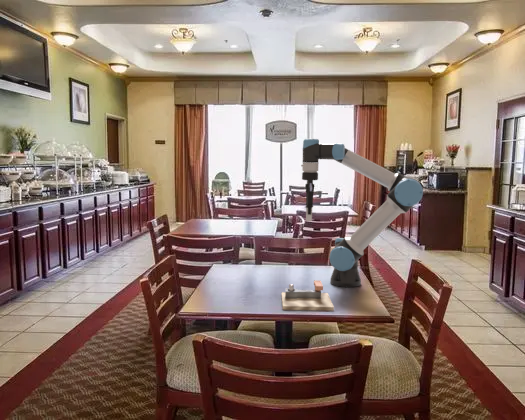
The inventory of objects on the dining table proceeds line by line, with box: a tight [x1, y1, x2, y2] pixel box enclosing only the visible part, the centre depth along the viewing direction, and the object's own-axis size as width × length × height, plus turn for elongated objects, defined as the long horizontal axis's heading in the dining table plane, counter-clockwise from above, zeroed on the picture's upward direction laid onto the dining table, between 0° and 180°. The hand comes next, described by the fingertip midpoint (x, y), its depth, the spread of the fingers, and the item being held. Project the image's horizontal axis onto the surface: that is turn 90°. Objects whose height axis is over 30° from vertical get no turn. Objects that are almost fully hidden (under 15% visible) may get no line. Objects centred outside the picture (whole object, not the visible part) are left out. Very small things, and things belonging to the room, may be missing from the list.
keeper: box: [313, 280, 324, 291], centre depth 205 cm, size 3×10×6 cm, turn 179°
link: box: [284, 287, 322, 299], centre depth 204 cm, size 16×5×3 cm, turn 87°
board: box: [281, 291, 335, 311], centre depth 201 cm, size 21×20×2 cm
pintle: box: [288, 283, 295, 299], centre depth 204 cm, size 5×5×6 cm
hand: (308, 220), depth 223 cm, fingers closed
